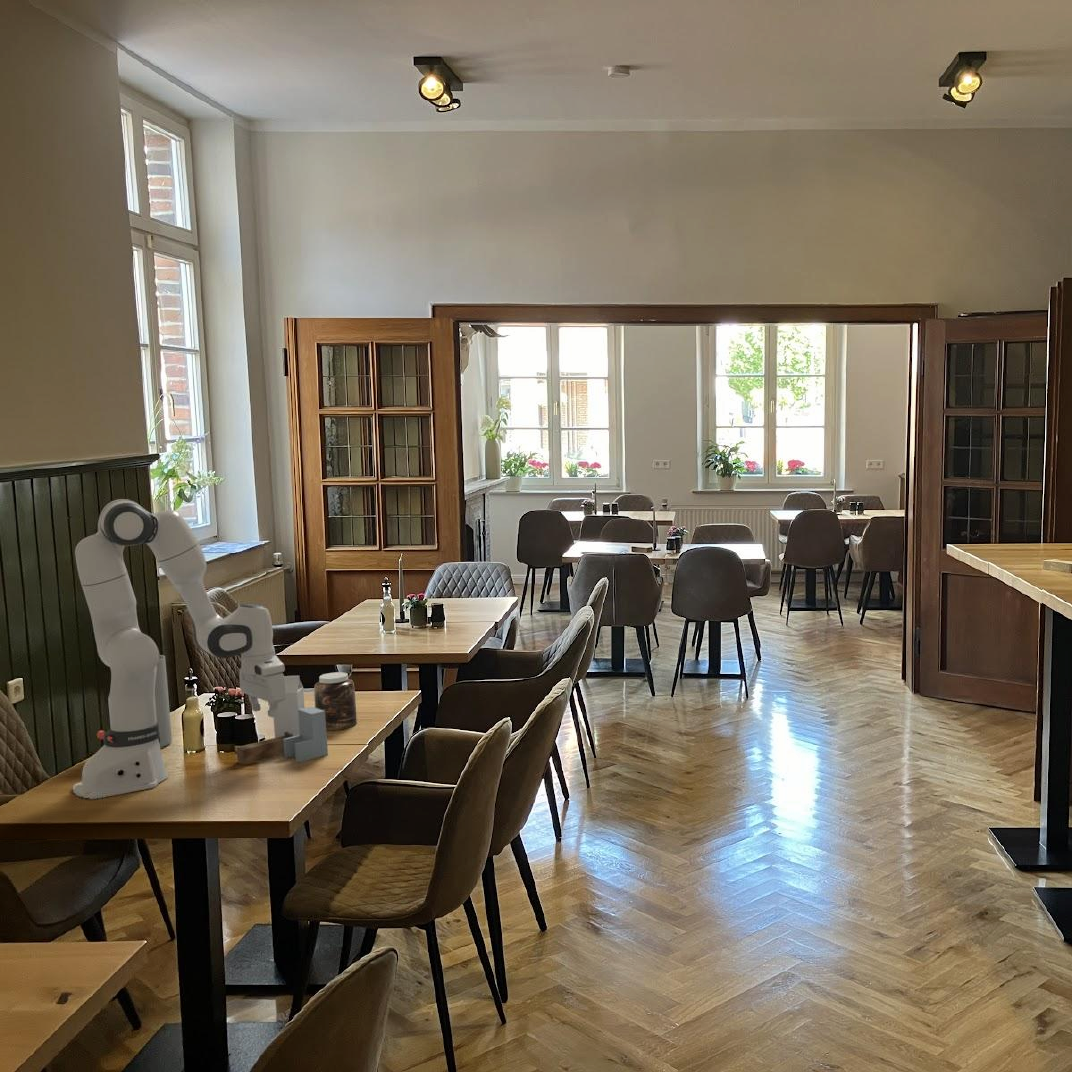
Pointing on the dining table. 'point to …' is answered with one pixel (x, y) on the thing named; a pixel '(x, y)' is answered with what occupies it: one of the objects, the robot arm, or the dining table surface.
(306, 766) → the dining table surface
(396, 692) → the dining table surface
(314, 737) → the blue l-shaped block
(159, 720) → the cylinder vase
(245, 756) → the rail
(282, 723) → the milk carton
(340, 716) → the jar
